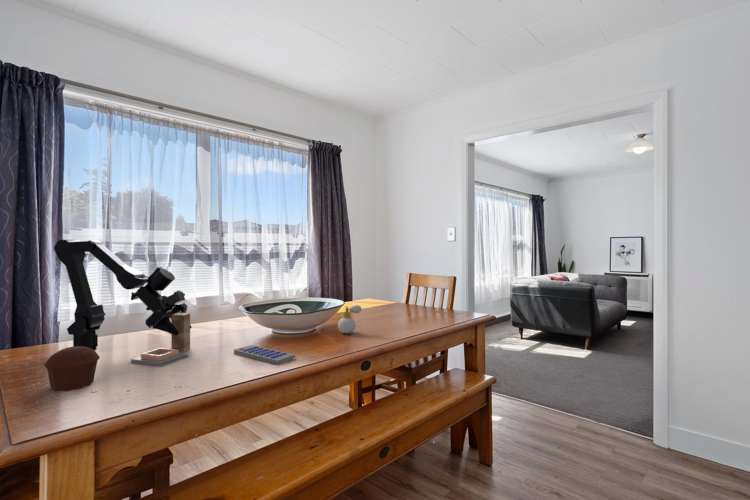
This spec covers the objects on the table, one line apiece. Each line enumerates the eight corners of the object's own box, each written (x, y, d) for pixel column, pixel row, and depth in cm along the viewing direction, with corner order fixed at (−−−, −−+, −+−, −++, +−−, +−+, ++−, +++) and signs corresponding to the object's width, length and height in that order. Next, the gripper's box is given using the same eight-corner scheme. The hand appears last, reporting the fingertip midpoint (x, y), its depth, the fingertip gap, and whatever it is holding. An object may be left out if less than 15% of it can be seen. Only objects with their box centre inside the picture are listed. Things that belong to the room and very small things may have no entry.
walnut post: (171, 352, 135) (171, 315, 135) (177, 348, 139) (177, 312, 139) (184, 352, 135) (184, 315, 135) (190, 348, 139) (190, 312, 139)
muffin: (54, 397, 95) (54, 356, 95) (36, 387, 101) (36, 349, 101) (107, 382, 105) (107, 346, 105) (89, 375, 111) (89, 340, 111)
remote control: (276, 366, 123) (277, 359, 123) (231, 354, 135) (231, 348, 135) (294, 360, 129) (294, 353, 129) (249, 349, 141) (249, 343, 141)
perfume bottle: (334, 332, 167) (334, 305, 167) (353, 329, 173) (353, 303, 172) (343, 336, 161) (344, 307, 161) (363, 333, 167) (363, 305, 167)
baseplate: (131, 362, 123) (131, 354, 123) (159, 353, 134) (159, 345, 134) (160, 366, 120) (160, 358, 120) (187, 356, 130) (187, 349, 130)
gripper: (154, 287, 127) (188, 320, 128) (182, 281, 146) (211, 310, 146) (130, 310, 127) (164, 344, 128) (161, 302, 146) (190, 331, 146)
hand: (184, 331), depth 137 cm, fingers open, 9 cm apart
